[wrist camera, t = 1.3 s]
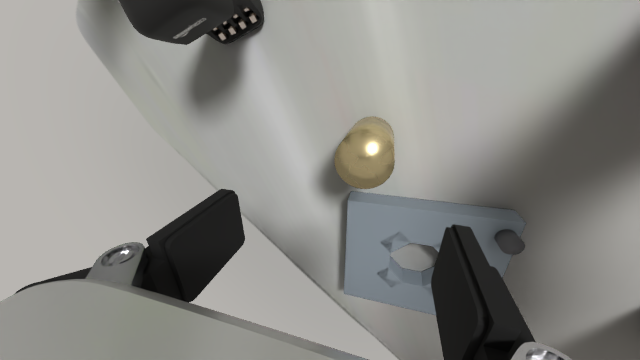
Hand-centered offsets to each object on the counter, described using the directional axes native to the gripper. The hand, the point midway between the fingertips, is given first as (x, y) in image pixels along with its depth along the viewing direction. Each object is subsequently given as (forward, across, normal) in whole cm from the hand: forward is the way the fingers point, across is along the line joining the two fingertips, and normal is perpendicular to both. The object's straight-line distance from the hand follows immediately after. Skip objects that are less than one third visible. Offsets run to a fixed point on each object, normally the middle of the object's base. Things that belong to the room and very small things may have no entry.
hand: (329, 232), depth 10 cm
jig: (+18, -8, +15) cm, 25 cm away
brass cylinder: (+18, 0, 0) cm, 18 cm away
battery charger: (+18, +15, -11) cm, 26 cm away
